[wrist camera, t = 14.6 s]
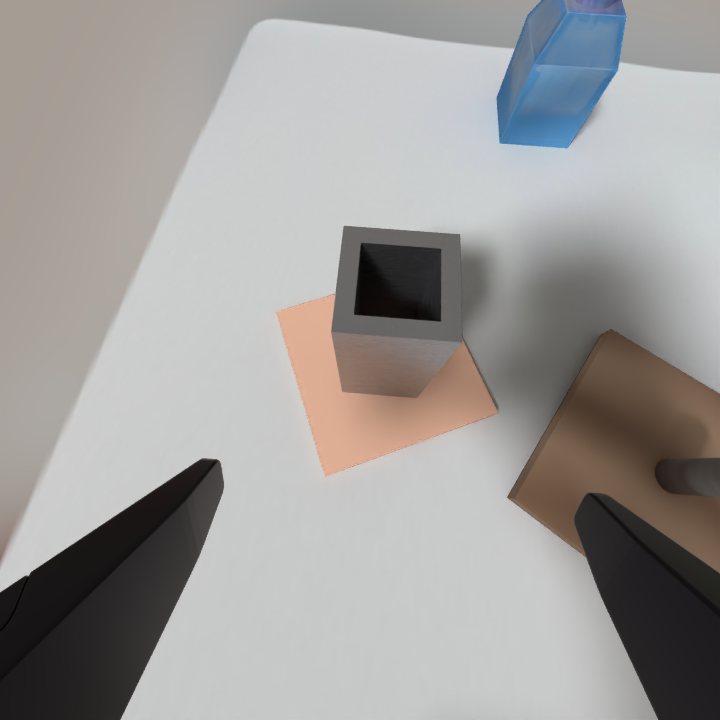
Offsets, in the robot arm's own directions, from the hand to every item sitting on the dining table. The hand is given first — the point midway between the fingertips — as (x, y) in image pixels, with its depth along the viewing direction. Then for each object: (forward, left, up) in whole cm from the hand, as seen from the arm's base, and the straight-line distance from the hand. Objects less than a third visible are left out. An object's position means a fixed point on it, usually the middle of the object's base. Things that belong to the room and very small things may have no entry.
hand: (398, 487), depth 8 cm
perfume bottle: (+25, +25, -14) cm, 38 cm away
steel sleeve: (+3, +7, -13) cm, 15 cm away
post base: (+17, -6, -13) cm, 22 cm away
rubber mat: (+3, +7, -13) cm, 15 cm away
